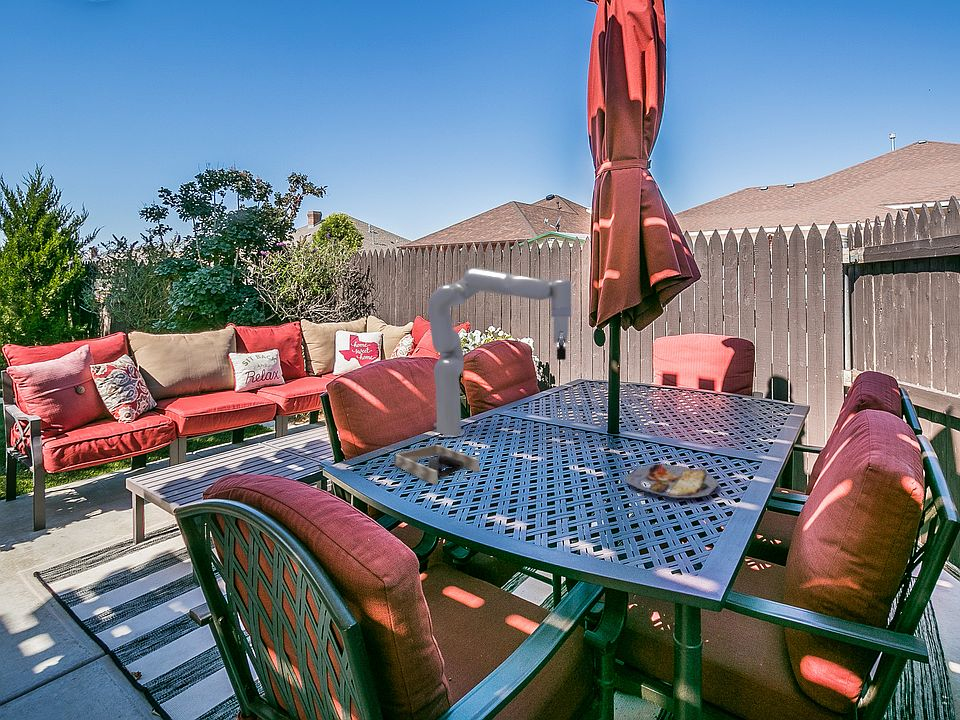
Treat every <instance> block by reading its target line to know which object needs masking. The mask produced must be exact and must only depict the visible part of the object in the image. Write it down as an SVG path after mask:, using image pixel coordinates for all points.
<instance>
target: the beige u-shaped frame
mask: <svg viewBox="0 0 960 720" xmlns="http://www.w3.org/2000/svg"><path fill="white" fill-rule="evenodd" d="M438 454H441V455H444V456H448V457H450V458H454V459H456V460H460V461H462V462H463V463H464V468H465V467H466V468H465V469H467V468H468V470H470V471H472V470H473V472H475V473H479V472H480V460H479V459H480V458H477V457H474V456H470V455H468V454H465V453H463V452H460V451H457V450H454V449H452V448H448V447H445V446H442V445H440V444H433V445H432V444H431V445H428V446H424V447H420V448H416V449H412V450H406V451H403V452H399V453H395V454H394V455H393V458H394V459H393V460H394V467H395V466H397V467H399V468H401V469H400V470H402V469H403V470H402V471H404V470H405V471H404V472H406V471H407V473H408V472H409V473H408V474H410V473H411V475H412V474H413V475H412V476H414V477H416V478H419V479H421V480H423V481H425V482H428V483H430V484H432V485H436V486H437V485H439V484H438V483H439V480H438V479H439V477H438V476H439V475H438V474H437V471H436V470H434V469H431V468H429V467H428V465H427V466H426V465H424V464H421V463H419V462H415V461H416V460H420V459H423V458H427V457H431V456H435V455H437V456H438ZM397 467H396V468H397ZM399 468H398V469H399Z"/></svg>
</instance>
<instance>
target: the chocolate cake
mask: <svg viewBox="0 0 960 720" xmlns="http://www.w3.org/2000/svg"><path fill="white" fill-rule="evenodd" d="M427 463H428V464H427V467H429V468H431V469H434V470H436V471H437V475H438V476H439V477H440V479H445V478H447V476H448V477H449V474H452V475H454V474H453V472H455V471H458V470H460V469H464V470H465V467H464V463H463V462H462V461H460V460H456V459H454V458H450V457H448V456H444V455H441V454H438V457H433V458H429V459H428V462H427ZM446 467H453V468H447V469H445V470H443V471H440V470H441V469H444V468H446Z"/></svg>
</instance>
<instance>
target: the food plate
mask: <svg viewBox="0 0 960 720" xmlns="http://www.w3.org/2000/svg"><path fill="white" fill-rule="evenodd" d="M624 478H625V481H626V483H627V484H629V485H630V486H633V487H635V488H637V489H638V490H639V489H640V490H641V491H644V492H647V493H649V492H650V493H652V494H656V495H658V496H660V495H661V496H667V497H670V498H678V499H683V500H684V499H688V498H699V497H706V496H709V495H710V494H711V493H712V492H714V490H715V489H716V488H717V486H719V485H720V484H719V481H718V480H717V479H716V478H714V477H713V476H711V475H710V474H708V473H707V471H706V469H694V468H690V467H686V466H682V465H673V464H661V463H656V464H651V465H643V466H642V467H637V468H635V469H633V470H632V471H631V472H629V473H628V474H627V475H626V476H625V477H624ZM645 482H646V484H645V486H649V488H648V489H647V488H646V487H645V486H644V483H645ZM665 491H668V494H667V493H664V492H665Z"/></svg>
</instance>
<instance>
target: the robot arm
mask: <svg viewBox="0 0 960 720" xmlns="http://www.w3.org/2000/svg"><path fill="white" fill-rule="evenodd" d="M479 292H484V293H490V294H497V295H502V296H514V297H520V298H526V299H531V300H535V301H536V300H538V301H543V300H549V299H550V302H551V303H550V311H551V313H550V317H551V318H553V343H554V344H557V346H556V360H557V361H559V360H561V361H562V360H563V361H565V360H566V359H567V357H566V356H567V353H566V352H567V351H566V348H567V347H566V344H567V342H568V337H569V336H568V335H569V318H570V317H572V282H571V280H570V279H555V280H546V279H541V278H535V277H528V276H522V275H517V274H512V273H509V272H504V271H498V270H492V269H485V268H480V267H471V268H468V269H467V270H466V271H465V273H464V275H463V277H462V278H461V279H459V280H458V281H456V282H455V283H447V284H443V285H441V286H439V287H438V288H436V289H435V290H434V291H433V292H432V294H431V295H430V297H429V300H428V305H427V307H428V317H429V323H430V324H429V325H430V333H431V338H432V339H431V341H432V342H431V343H432V346H433V349H434V350H435V351H436V353H439V355H440V356H439V357H440V359H438V360H437V361H436V363H435V365H434V369H433V375H434V376H433V377H434V383H435V398H436V401H435V402H436V422H435V423H433V426H434V427H436V430H437V431H438V433H440V434H443V435H444V436H458V435H461V434H463V433H465V434H466V431H465V430H464V429H463V430H462V431H461V429H462V420H461V415H462V414H461V387H460V380H459V375H461V374H462V372H463V371H464V366H465V365H464V364H465V363H464V361H465V360H464V355H463V347H462V341H461V337H460V335H459V333H458V332H457V331H456V330H455V329H454V328H453V322H452V321H453V320H452V315H451V311H450V309H451V307H456V306H460V305H462V304H463V303H465V302H466V301H467V300H470V298H472V297H474V296H475V295H476V294H478V293H479ZM443 435H441V436H443Z"/></svg>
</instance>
